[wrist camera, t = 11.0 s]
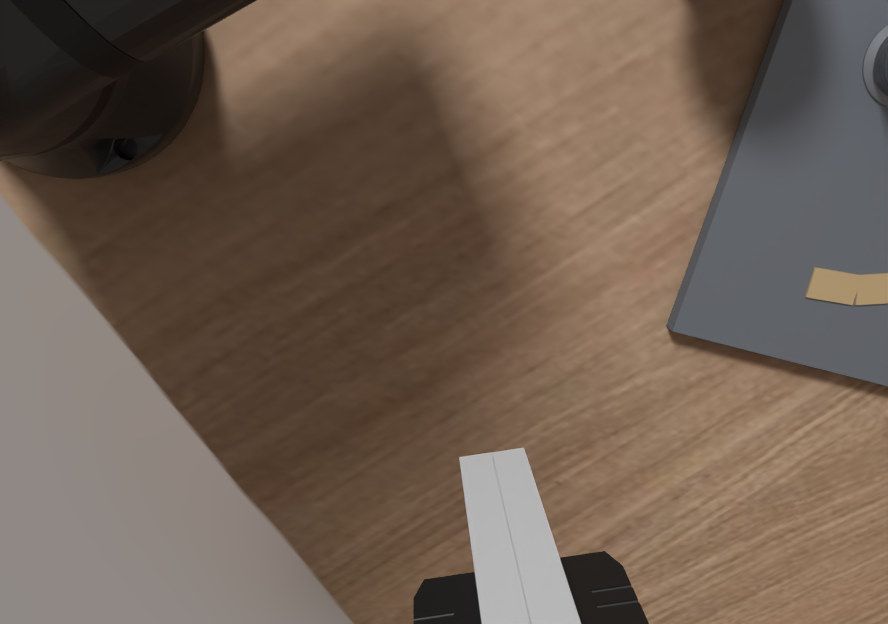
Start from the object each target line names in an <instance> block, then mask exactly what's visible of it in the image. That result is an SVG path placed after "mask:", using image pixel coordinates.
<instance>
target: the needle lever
mask: <svg viewBox="0 0 888 624" xmlns="http://www.w3.org/2000/svg"><path fill="white" fill-rule="evenodd" d="M874 76H875V80H876V83H877V85H878V87H879V88H880V90H881V91H882V92H883V93H884V94H885V95H886V96H888V36H887V37H886V39H885V40H884V41H883V42H882V44H881V45H880V47H879V49H878V51H877V54H876V57H875V61H874Z"/></svg>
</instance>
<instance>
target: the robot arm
mask: <svg viewBox="0 0 888 624" xmlns="http://www.w3.org/2000/svg"><path fill="white" fill-rule="evenodd" d="M255 1H256V0H0V161H2V160H5V161H7V162H9V163H11V164H13V165H15V166H17V167H20V168H22V169H25V170H28V171H31V172H34V173H38V174H42V175H46V176H52V177H59V178H70V179H84V178H94V177H100V176H105V175H109V174H113V173H117V172H121V171H124V170H128V169H131V168H133V167H135V166H138V165H140V164H142V163H144V162H146V161H147V160H149V159H151V158H152V157H154V156H155V155H157V154H158V153H159V152H161V151H162V150H163V149H164V148H165V147H167V146H168V145H169V144H170V143H171V142H172V141H173V140H174V139H175V137H176V136H177V135H178V134H179V133H180V131H181V130H182V128H183V127H184V125H185V124H186V122H187V121H188V119H189V117H190V115H191V113H192V111H193V109H194V107H195V104H196V101H197V99H198V95H199V92H200V88H201V84H202V78H203V71H204V44H203V36H202V31H204V30H206V29H207V28H209V27H211V26H213V25H214V24H216V23H218V22H220V21H221V20H223V19H225V18H227V17H228V16H230V15H232V14H234V13H235V12H237V11H239V10H241V9H242V8H244V7H246V6H248V5H249V4H251V3H253V2H255ZM459 460H460V467H461V475H462V482H463V489H464V497H465V504H466V512H467V519H468V526H469V534H470V541H471V548H472V556H473V563H474V570H475V572H472V573H465V574H458V575H452V576H445V577H438V578H431V579H424V581H423V582H422V584H421V586H420V588H419V589H418V591H417V593H416V595H415V596H414V624H649V623H648V621H647V618H646V616H645V614H644V612H643V610H642V607H641V605H640V603H638V599H637V596H636V594H635V592H634V590H633V588H632V587H631V583H630V581H629V579H628V577H627V574H626V572H625V570H624V568H623V566H622V565H621V564H620V563H619V562H617V561H616V560H615V559H614V558H612V557H611V556H610V555H609V554H607V553H606V552H605V551H603V552H596V553H589V554H582V555H576V556H569V557H562V558H560V557H559V554H558V551H557V548H556V545H555V542H554V539H553V536H552V533H551V529H550V526H549V523H548V520H547V517H546V514H545V511H544V508H543V505H542V502H541V499H540V496H539V493H538V489H537V486H536V483H535V480H534V477H533V474H532V471H531V468H530V465H529V462H528V459H527V456H526V453H525V450H524V448H518V449H511V450H505V451H498V452H491V453H484V454H477V455H470V456H463V457H459Z"/></svg>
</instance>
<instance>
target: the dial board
mask: <svg viewBox="0 0 888 624" xmlns="http://www.w3.org/2000/svg"><path fill="white" fill-rule="evenodd" d="M887 36H888V0H784V1H783V4H782V7H781V10H780V12H779V15H778V18H777V21H776V24H775V26H774V29H773V32H772V35H771V37H770V40H769V43H768V46H767V49H766V51H765V54H764V57H763V60H762V62H761V65H760V68H759V71H758V73H757V76H756V79H755V82H754V85H753V87H752V90H751V93H750V96H749V98H748V101H747V104H746V107H745V110H744V112H743V115H742V118H741V121H740V123H739V126H738V129H737V132H736V135H735V137H734V140H733V143H732V146H731V148H730V151H729V154H728V157H727V159H726V162H725V165H724V168H723V171H722V173H721V176H720V179H719V182H718V184H717V187H716V190H715V193H714V196H713V198H712V201H711V204H710V207H709V209H708V212H707V215H706V218H705V220H704V223H703V226H702V229H701V232H700V234H699V237H698V240H697V243H696V245H695V248H694V251H693V254H692V257H691V259H690V262H689V265H688V268H687V270H686V273H685V276H684V279H683V281H682V284H681V287H680V290H679V293H678V295H677V298H676V301H675V304H674V306H673V309H672V312H671V315H670V318H669V320H668V323H667V327H668V328H669V329H670V330H671V331H673V332H677V333H681V334H685V335H689V336H692V337H696V338H700V339H704V340H708V341H712V342H716V343H720V344H724V345H728V346H732V347H736V348H740V349H743V350H747V351H751V352H755V353H759V354H763V355H767V356H771V357H775V358H779V359H783V360H787V361H791V362H794V363H798V364H802V365H806V366H810V367H814V368H818V369H822V370H826V371H830V372H834V373H838V374H842V375H845V376H849V377H853V378H857V379H861V380H865V381H869V382H873V383H877V384H881V385H885V386H888V96H886V95H885V94H884V93H883V92H882V91H881V90H880V88H879V87H878V85H877V83H876V80H875V76H874V61H875V57H876V54H877V51H878V49H879V47H880V45H881V44H882V42H883V41H884V40H885V39H886V37H887Z"/></svg>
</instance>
